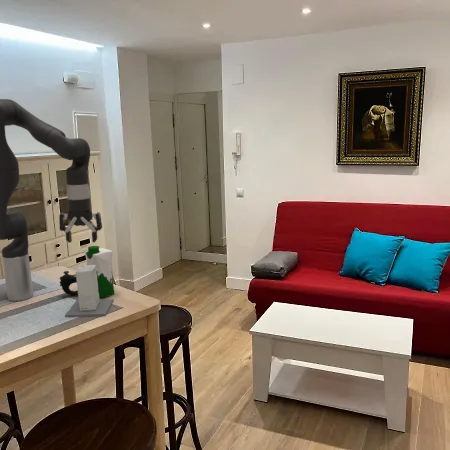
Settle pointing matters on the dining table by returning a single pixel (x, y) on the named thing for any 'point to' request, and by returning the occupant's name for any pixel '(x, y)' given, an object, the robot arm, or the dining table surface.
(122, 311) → the dining table surface
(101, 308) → the mat
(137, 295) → the dining table surface
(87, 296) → the skincare box
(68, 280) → the controller
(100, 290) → the milk carton
